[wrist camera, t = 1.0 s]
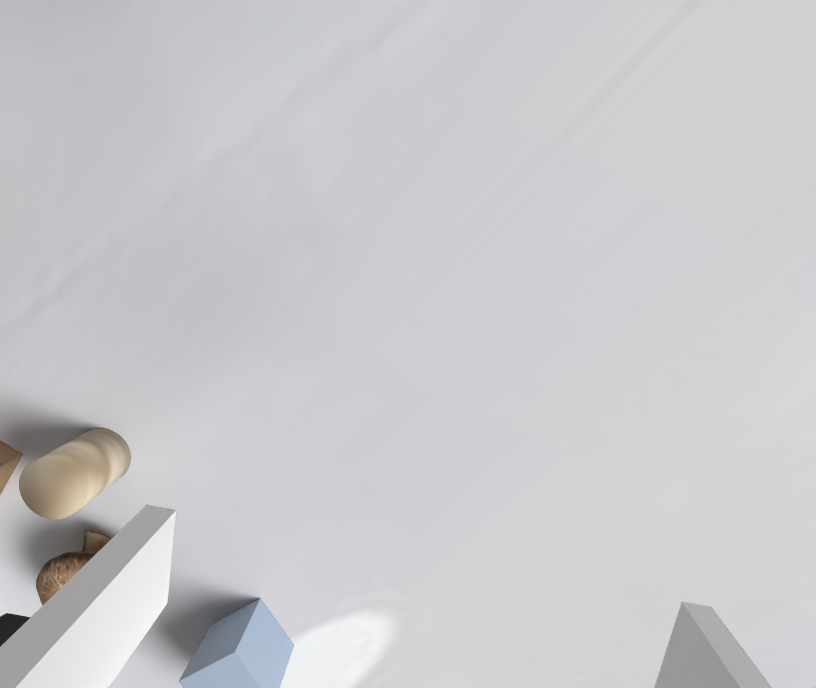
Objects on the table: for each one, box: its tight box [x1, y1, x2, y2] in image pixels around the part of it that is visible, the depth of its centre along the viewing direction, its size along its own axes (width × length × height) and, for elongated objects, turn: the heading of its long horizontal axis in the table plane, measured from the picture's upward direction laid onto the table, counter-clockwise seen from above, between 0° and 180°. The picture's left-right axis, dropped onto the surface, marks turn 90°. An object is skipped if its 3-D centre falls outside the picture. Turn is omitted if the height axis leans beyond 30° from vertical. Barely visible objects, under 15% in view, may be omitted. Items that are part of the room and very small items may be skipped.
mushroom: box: [36, 530, 111, 605], centre depth 42 cm, size 8×8×6 cm
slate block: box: [179, 598, 294, 688], centre depth 43 cm, size 5×5×6 cm
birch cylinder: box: [19, 428, 131, 519], centre depth 40 cm, size 4×4×6 cm
